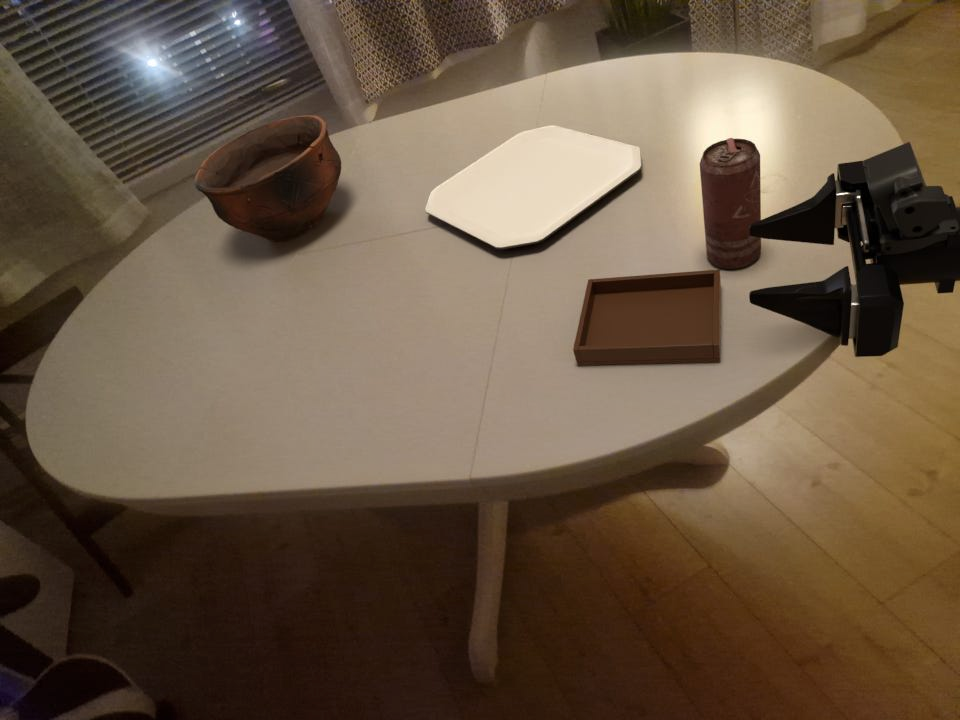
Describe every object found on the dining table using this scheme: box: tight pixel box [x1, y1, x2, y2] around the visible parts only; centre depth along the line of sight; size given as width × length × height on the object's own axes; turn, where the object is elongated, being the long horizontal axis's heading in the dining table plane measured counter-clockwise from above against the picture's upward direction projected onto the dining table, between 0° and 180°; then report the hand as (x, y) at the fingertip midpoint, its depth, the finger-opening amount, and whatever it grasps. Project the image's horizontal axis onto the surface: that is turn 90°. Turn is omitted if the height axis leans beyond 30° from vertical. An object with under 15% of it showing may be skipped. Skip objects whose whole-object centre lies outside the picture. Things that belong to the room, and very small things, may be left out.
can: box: [699, 137, 762, 270], centre depth 74 cm, size 6×6×14 cm
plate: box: [424, 124, 643, 250], centre depth 103 cm, size 29×29×2 cm
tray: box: [572, 269, 722, 367], centre depth 74 cm, size 15×12×3 cm
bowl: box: [194, 114, 342, 243], centre depth 116 cm, size 25×25×15 cm
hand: (749, 262), depth 56 cm, fingers open, 9 cm apart
